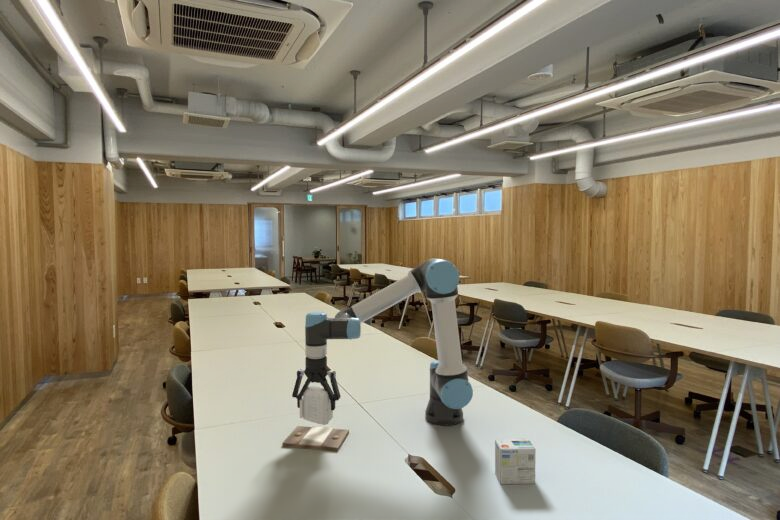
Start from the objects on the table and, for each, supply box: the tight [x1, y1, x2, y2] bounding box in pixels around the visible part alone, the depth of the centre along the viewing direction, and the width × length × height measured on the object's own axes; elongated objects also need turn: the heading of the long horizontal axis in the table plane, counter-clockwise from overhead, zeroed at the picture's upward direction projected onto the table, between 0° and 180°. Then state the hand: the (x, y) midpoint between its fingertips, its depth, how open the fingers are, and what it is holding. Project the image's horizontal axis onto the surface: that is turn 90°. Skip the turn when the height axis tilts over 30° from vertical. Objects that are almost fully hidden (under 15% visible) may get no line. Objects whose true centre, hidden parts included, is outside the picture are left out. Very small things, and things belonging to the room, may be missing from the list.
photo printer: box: [302, 385, 330, 426], centre depth 156 cm, size 10×4×12 cm, turn 61°
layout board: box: [281, 425, 350, 452], centre depth 156 cm, size 20×14×2 cm
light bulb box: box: [494, 438, 536, 485], centre depth 131 cm, size 11×7×11 cm, turn 92°
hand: (316, 417), depth 156 cm, fingers closed on photo printer, 10 cm apart
